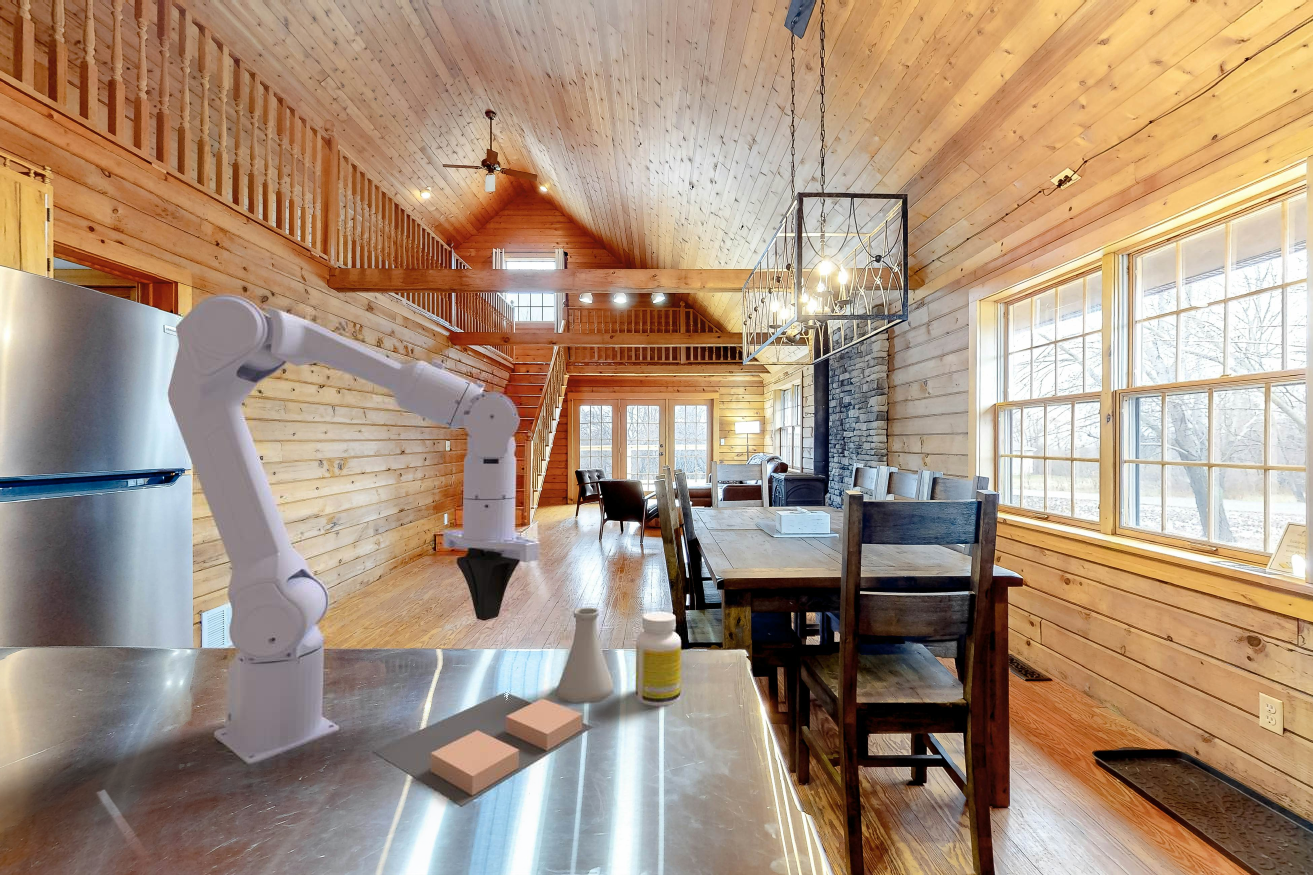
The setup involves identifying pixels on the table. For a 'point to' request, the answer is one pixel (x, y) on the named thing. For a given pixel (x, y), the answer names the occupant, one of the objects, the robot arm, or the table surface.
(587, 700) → the flask
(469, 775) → the tile
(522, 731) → the tile
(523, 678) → the table surface
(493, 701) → the mat
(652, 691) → the supplement bottle
